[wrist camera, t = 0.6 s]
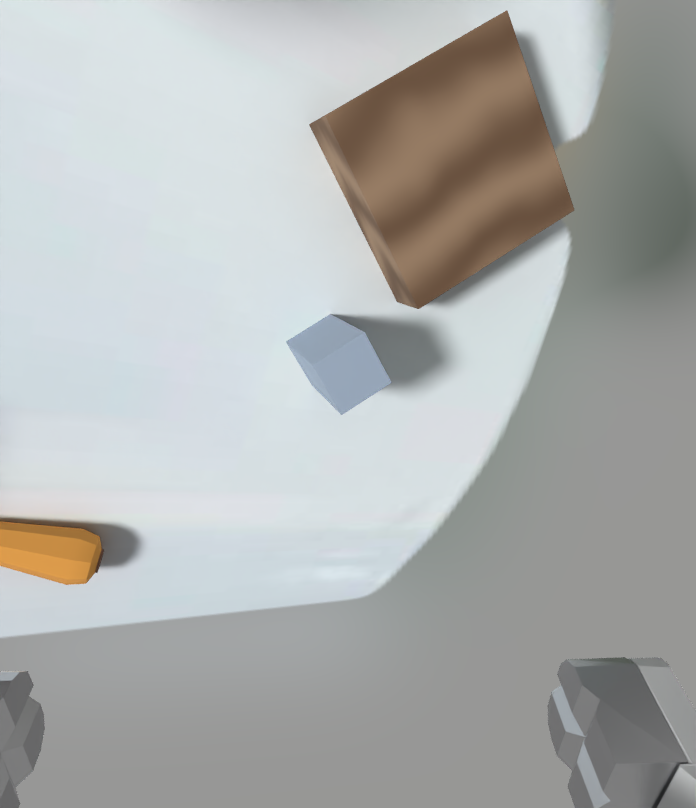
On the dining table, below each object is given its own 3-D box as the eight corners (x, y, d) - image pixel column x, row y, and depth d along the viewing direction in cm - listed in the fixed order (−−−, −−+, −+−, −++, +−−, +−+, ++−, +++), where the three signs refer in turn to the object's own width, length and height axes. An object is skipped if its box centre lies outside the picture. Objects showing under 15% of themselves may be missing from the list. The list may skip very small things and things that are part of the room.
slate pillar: (286, 341, 51) (312, 365, 43) (330, 314, 52) (364, 332, 44) (311, 384, 53) (341, 415, 45) (354, 357, 54) (391, 382, 45)
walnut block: (308, 125, 47) (325, 115, 43) (473, 29, 49) (507, 10, 45) (395, 301, 54) (418, 309, 49) (539, 210, 56) (574, 210, 51)
